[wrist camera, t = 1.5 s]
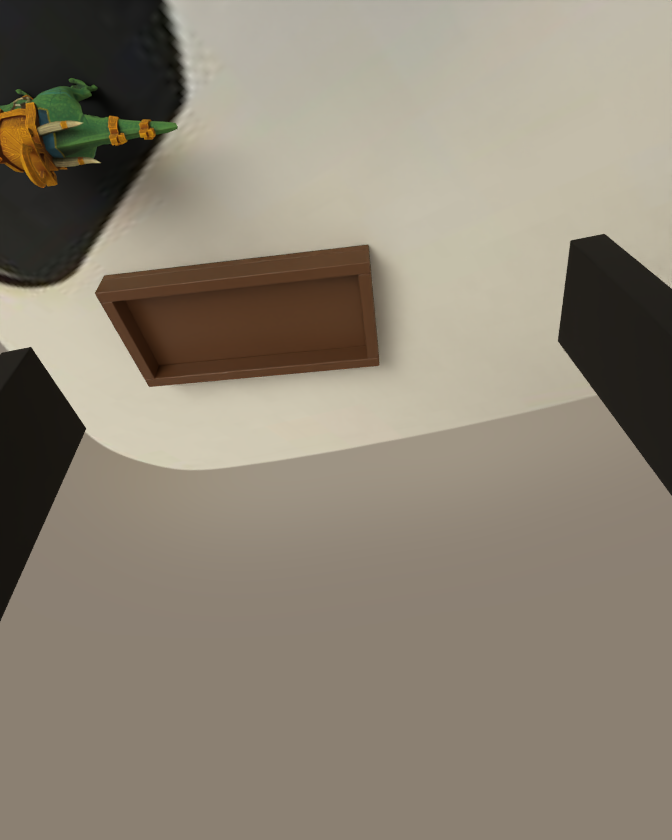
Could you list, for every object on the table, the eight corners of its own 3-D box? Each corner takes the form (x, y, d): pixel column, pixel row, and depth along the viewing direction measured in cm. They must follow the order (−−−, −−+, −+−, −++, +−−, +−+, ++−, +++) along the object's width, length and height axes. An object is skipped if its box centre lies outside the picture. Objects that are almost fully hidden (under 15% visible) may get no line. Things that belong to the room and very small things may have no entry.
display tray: (103, 275, 34) (94, 293, 33) (368, 244, 32) (369, 262, 31) (155, 369, 41) (149, 387, 39) (378, 347, 39) (379, 366, 37)
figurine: (-43, 86, 26) (-144, 153, 21) (187, 53, 25) (144, 115, 19) (-6, 150, 28) (-87, 225, 23) (206, 123, 27) (173, 195, 22)
